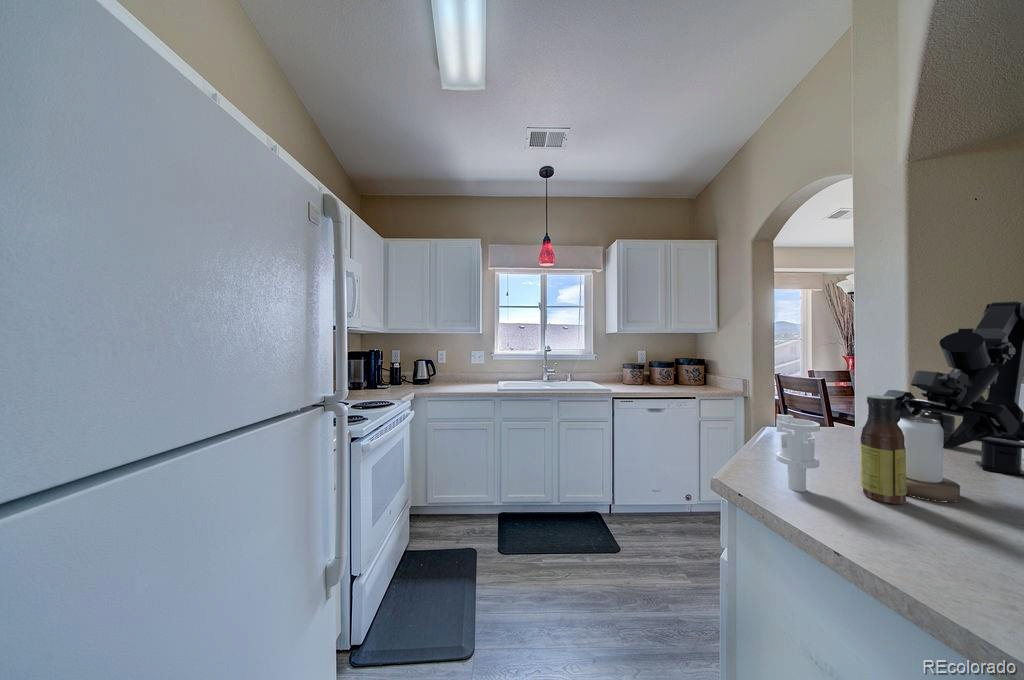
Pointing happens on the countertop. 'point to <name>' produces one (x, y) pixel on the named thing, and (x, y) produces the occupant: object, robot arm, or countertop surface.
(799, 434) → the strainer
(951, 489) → the walnut stand
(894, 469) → the sauce bottle
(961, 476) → the countertop surface
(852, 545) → the countertop surface
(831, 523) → the countertop surface
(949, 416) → the supplement bottle
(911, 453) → the can
